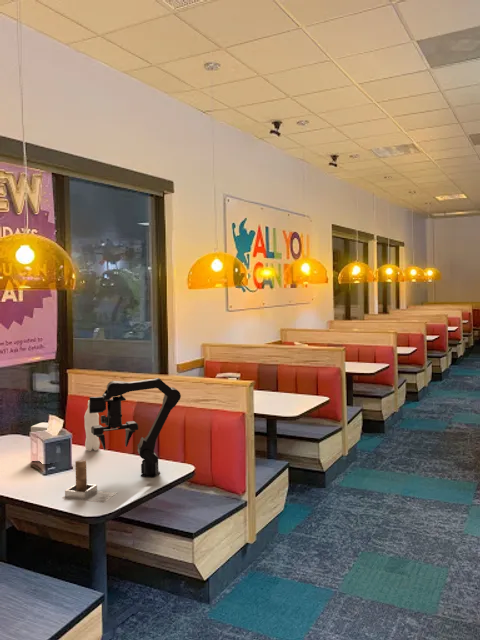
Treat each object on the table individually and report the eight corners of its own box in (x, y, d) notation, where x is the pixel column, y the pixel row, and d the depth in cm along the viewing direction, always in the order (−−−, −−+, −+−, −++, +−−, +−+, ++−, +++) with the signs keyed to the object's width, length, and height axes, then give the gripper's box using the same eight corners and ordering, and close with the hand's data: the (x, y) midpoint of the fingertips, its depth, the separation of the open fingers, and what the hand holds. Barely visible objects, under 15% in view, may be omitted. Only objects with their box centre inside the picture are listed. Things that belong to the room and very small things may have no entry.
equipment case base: (117, 496, 217) (117, 492, 217) (104, 506, 208) (104, 502, 208) (76, 492, 222) (76, 488, 222) (61, 501, 213) (61, 498, 213)
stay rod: (87, 491, 219) (86, 459, 219) (86, 495, 215) (85, 462, 215) (76, 492, 218) (76, 460, 218) (75, 495, 214) (74, 463, 214)
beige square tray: (97, 491, 219) (97, 484, 219) (85, 499, 211) (84, 492, 211) (77, 489, 222) (77, 483, 222) (65, 497, 214) (64, 490, 213)
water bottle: (102, 448, 284) (101, 399, 283) (94, 452, 278) (93, 402, 276) (90, 447, 287) (89, 398, 286) (82, 451, 280) (80, 401, 279)
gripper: (130, 405, 248) (131, 440, 249) (87, 410, 240) (89, 446, 241) (138, 410, 238) (139, 446, 239) (93, 415, 230) (94, 453, 231)
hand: (115, 448), depth 238 cm, fingers open, 9 cm apart
